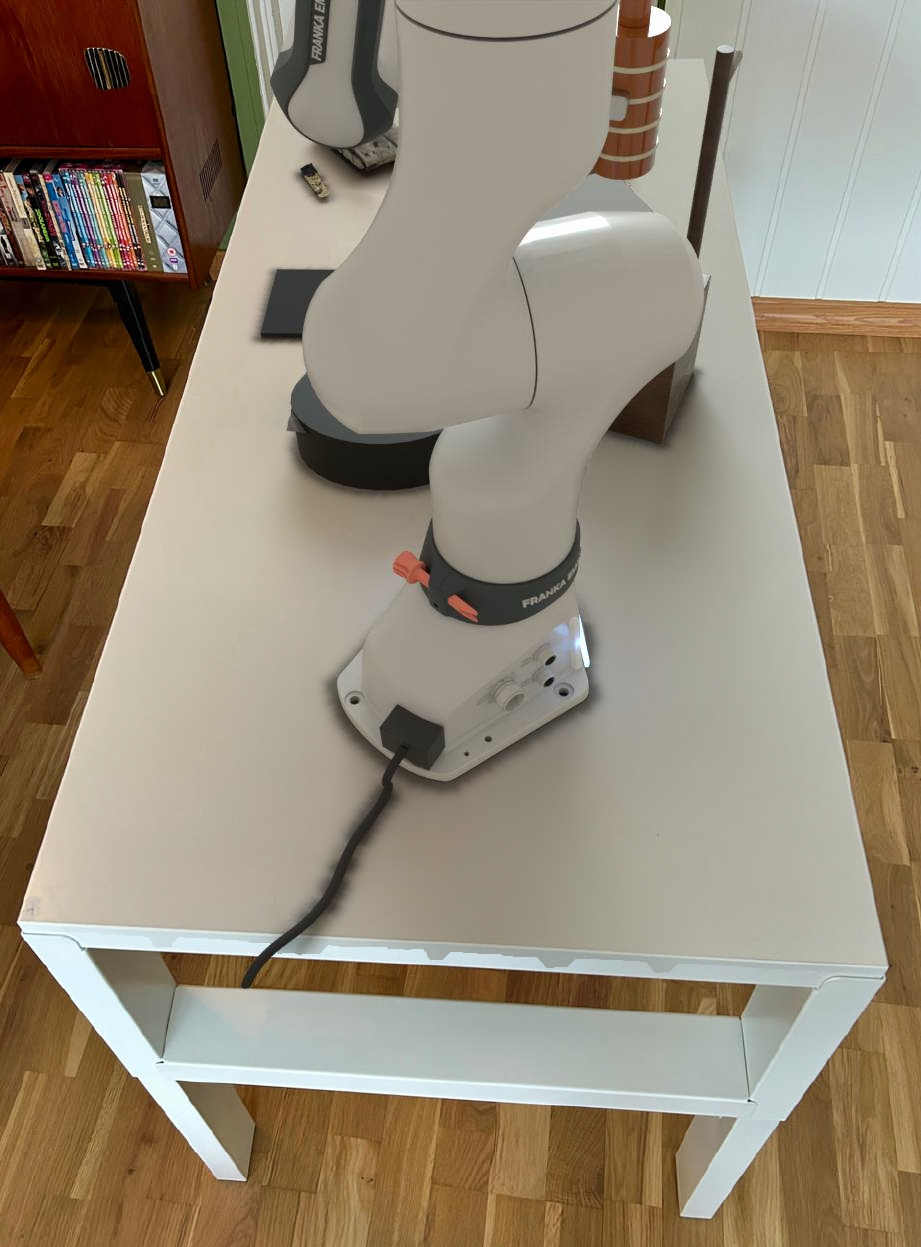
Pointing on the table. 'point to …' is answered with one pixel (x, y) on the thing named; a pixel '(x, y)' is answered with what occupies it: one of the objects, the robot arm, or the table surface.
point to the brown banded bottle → (637, 90)
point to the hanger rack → (664, 392)
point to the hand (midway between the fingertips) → (638, 84)
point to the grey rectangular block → (598, 198)
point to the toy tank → (372, 152)
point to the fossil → (314, 180)
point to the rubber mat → (291, 301)
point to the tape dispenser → (357, 448)
